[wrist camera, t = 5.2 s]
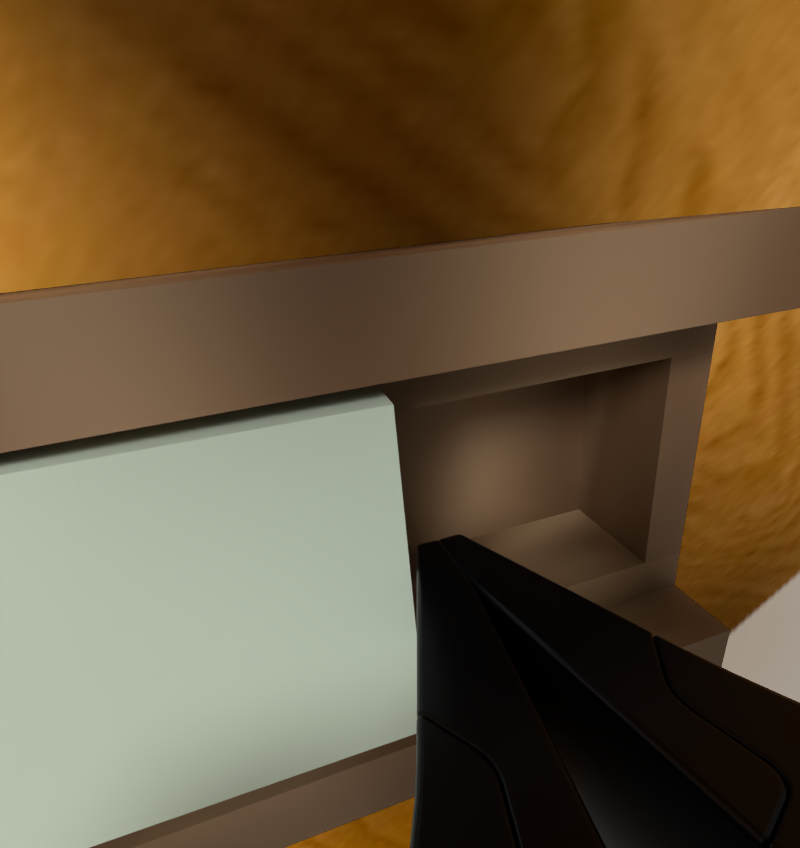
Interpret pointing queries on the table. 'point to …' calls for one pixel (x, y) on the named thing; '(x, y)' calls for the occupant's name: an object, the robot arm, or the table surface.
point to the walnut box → (437, 412)
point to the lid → (199, 613)
